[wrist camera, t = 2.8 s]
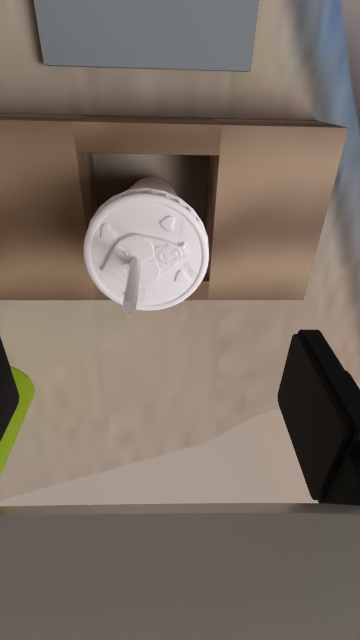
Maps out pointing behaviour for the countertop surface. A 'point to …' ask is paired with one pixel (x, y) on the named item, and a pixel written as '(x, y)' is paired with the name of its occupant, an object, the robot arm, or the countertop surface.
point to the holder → (221, 210)
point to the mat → (148, 33)
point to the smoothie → (146, 247)
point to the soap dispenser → (16, 414)
